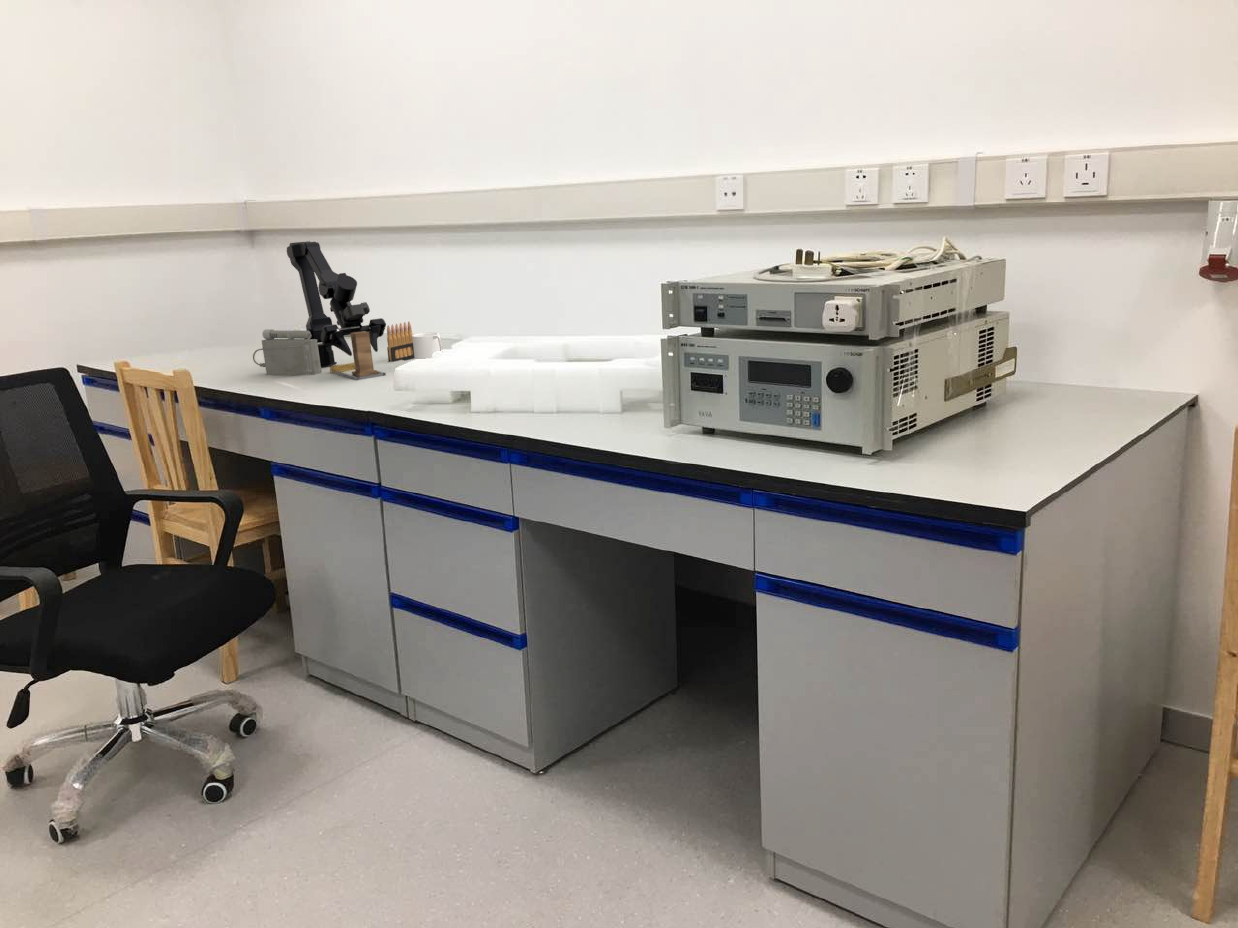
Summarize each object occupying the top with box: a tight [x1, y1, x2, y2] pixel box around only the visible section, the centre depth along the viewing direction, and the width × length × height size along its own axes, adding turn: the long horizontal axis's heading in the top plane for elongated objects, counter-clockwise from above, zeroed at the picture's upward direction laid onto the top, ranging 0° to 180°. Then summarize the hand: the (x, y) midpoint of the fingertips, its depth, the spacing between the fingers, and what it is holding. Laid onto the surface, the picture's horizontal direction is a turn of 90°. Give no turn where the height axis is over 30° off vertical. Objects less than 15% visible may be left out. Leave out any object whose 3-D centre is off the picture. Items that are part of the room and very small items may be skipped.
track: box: [329, 362, 387, 381], centre depth 300 cm, size 21×9×2 cm, turn 36°
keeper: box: [350, 331, 379, 377], centre depth 294 cm, size 6×6×13 cm
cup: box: [412, 332, 443, 360], centre depth 305 cm, size 8×12×10 cm
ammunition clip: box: [386, 321, 415, 363], centre depth 322 cm, size 11×2×12 cm, turn 145°
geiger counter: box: [252, 328, 323, 377], centre depth 309 cm, size 14×6×25 cm
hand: (364, 353), depth 293 cm, fingers open, 8 cm apart
